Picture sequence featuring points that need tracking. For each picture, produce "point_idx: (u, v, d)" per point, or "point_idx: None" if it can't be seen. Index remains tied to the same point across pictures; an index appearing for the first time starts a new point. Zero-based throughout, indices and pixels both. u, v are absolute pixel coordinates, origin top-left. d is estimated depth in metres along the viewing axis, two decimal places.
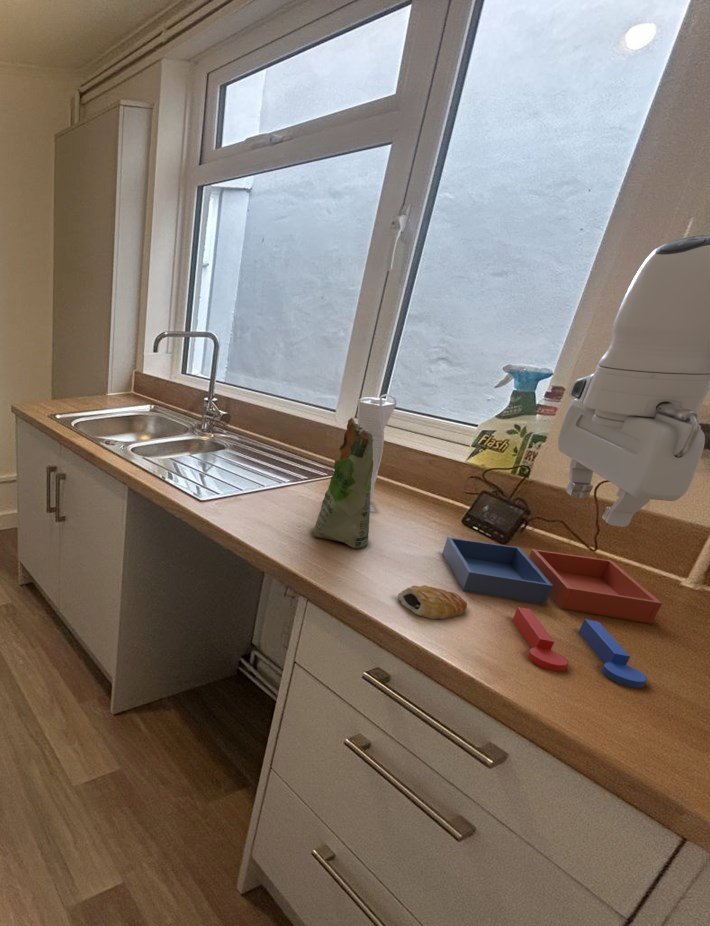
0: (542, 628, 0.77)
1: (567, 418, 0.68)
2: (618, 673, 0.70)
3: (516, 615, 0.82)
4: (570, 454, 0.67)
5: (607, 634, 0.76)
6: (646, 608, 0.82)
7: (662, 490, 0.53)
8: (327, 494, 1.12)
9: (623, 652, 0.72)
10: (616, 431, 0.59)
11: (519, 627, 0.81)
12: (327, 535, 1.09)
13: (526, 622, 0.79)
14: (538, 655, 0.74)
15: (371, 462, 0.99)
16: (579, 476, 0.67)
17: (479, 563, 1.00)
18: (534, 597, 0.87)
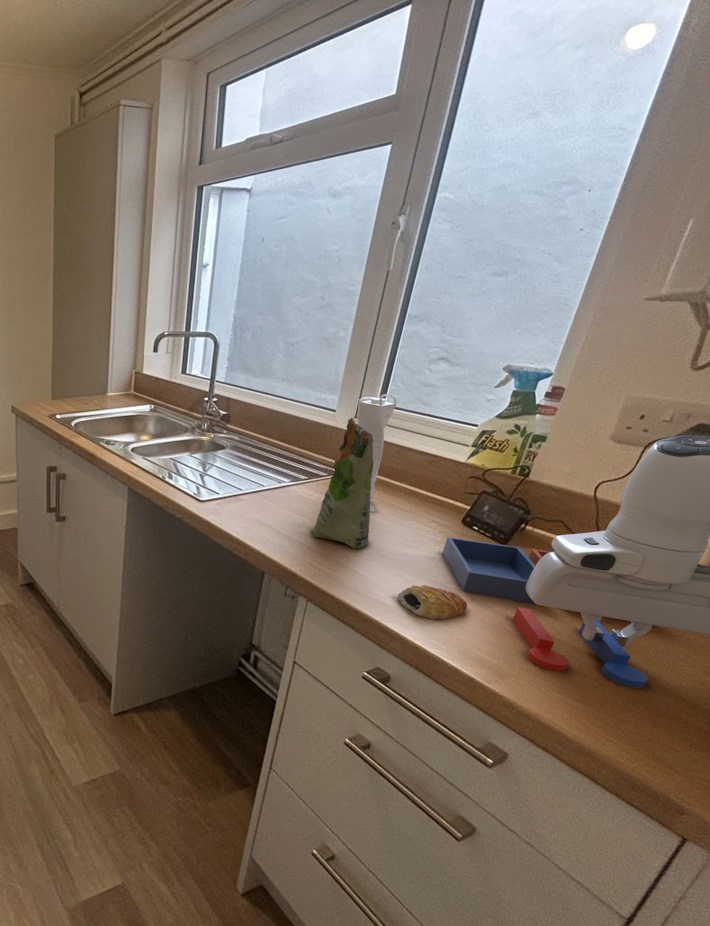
0: (542, 628, 0.77)
1: (556, 581, 0.74)
2: (618, 673, 0.70)
3: (516, 615, 0.82)
4: (572, 608, 0.74)
5: (607, 634, 0.76)
6: None
7: None
8: (327, 494, 1.12)
9: (623, 652, 0.72)
10: (653, 589, 0.70)
11: (519, 627, 0.81)
12: (327, 535, 1.09)
13: (526, 622, 0.79)
14: (538, 655, 0.74)
15: (371, 462, 0.99)
16: None
17: (479, 563, 1.00)
18: None
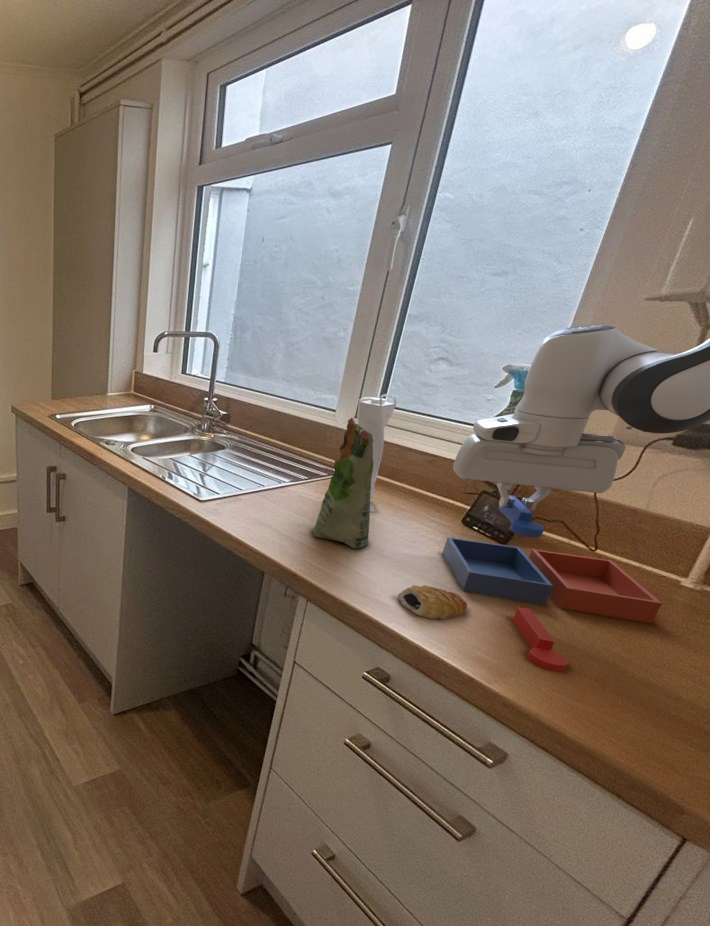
0: (542, 628, 0.77)
1: (474, 455, 0.89)
2: (522, 525, 0.85)
3: (516, 615, 0.82)
4: (488, 478, 0.90)
5: (519, 502, 0.91)
6: (646, 608, 0.82)
7: None
8: (327, 494, 1.12)
9: (528, 511, 0.87)
10: (550, 456, 0.85)
11: (519, 627, 0.81)
12: (327, 535, 1.09)
13: (526, 622, 0.79)
14: (538, 655, 0.74)
15: (371, 462, 0.99)
16: None
17: (479, 563, 1.00)
18: (534, 597, 0.87)
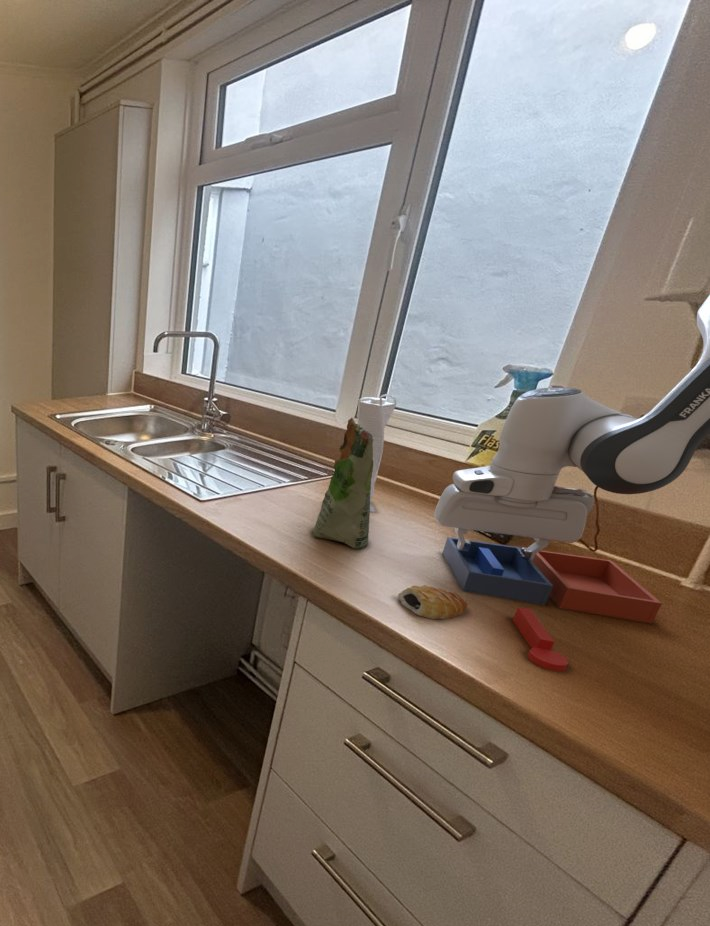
0: (542, 628, 0.77)
1: (453, 504, 0.94)
2: None
3: (516, 615, 0.82)
4: (467, 527, 0.94)
5: (492, 556, 0.97)
6: (646, 608, 0.82)
7: None
8: (327, 494, 1.12)
9: (500, 567, 0.93)
10: (524, 508, 0.90)
11: (519, 627, 0.81)
12: (327, 535, 1.09)
13: (526, 622, 0.79)
14: (538, 655, 0.74)
15: (371, 462, 0.99)
16: None
17: None
18: (534, 597, 0.87)
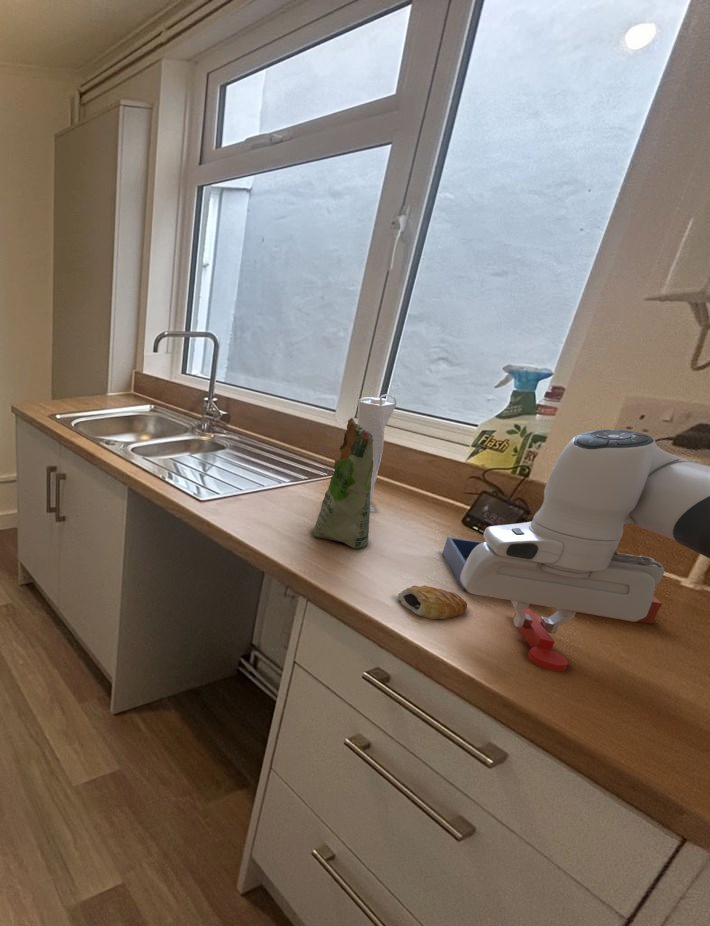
0: (542, 628, 0.77)
1: (486, 570, 0.77)
2: None
3: None
4: (501, 596, 0.77)
5: None
6: None
7: None
8: (327, 494, 1.12)
9: None
10: (575, 577, 0.73)
11: None
12: (327, 535, 1.09)
13: None
14: (538, 655, 0.74)
15: (371, 462, 0.99)
16: None
17: None
18: None
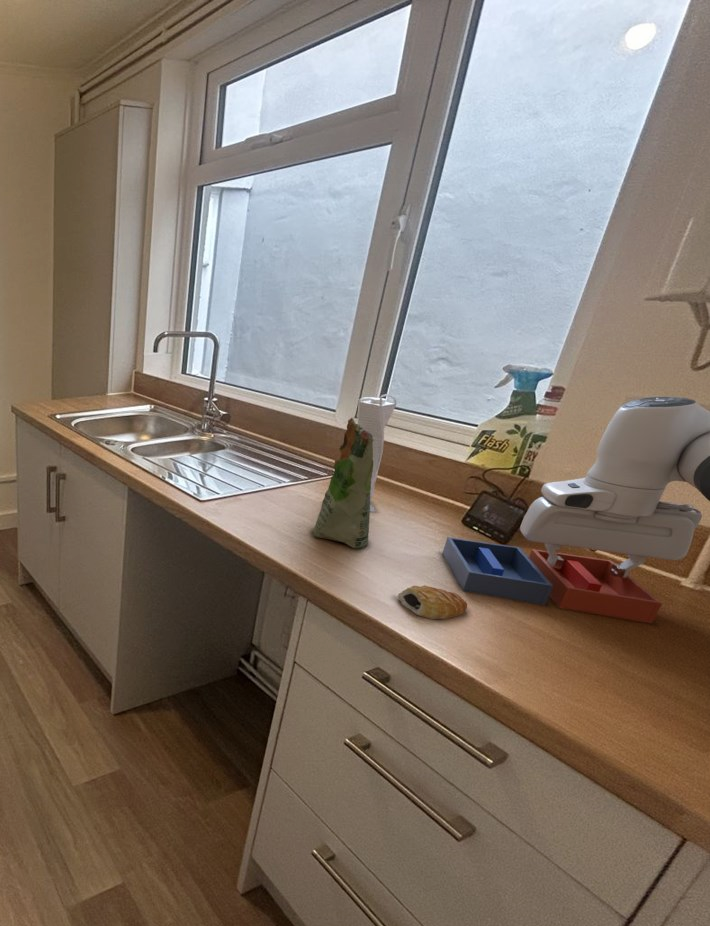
0: (590, 575, 0.90)
1: (545, 519, 0.89)
2: None
3: (565, 566, 0.95)
4: (558, 542, 0.90)
5: (492, 556, 0.97)
6: (646, 608, 0.82)
7: None
8: (327, 494, 1.12)
9: (500, 567, 0.93)
10: (624, 523, 0.85)
11: (569, 576, 0.94)
12: (327, 535, 1.09)
13: (575, 571, 0.92)
14: None
15: (371, 462, 0.99)
16: None
17: None
18: (534, 597, 0.87)
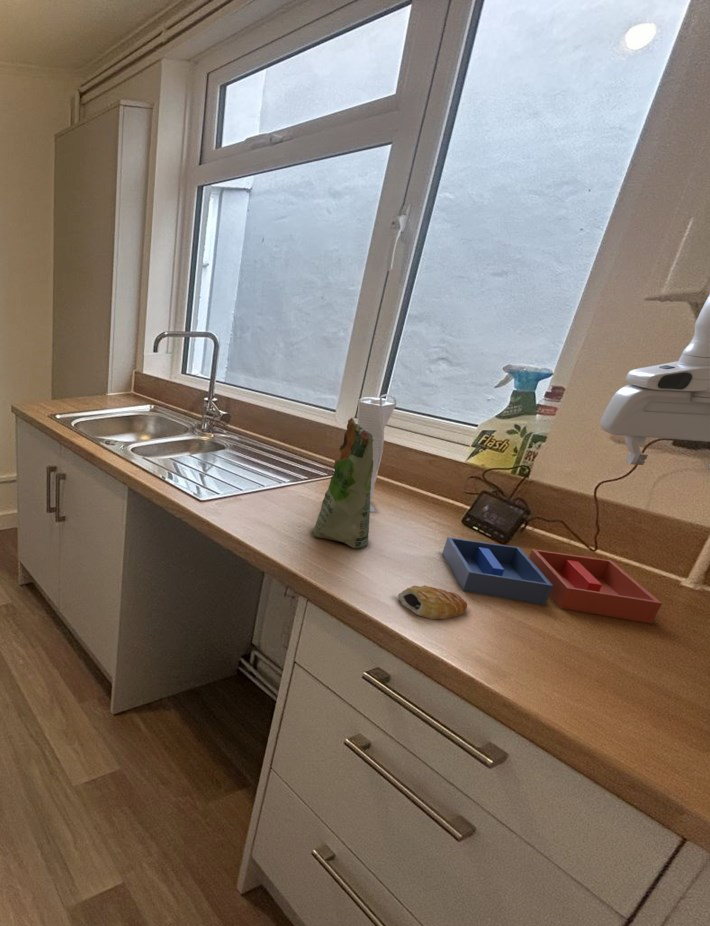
0: (590, 575, 0.90)
1: (633, 407, 0.80)
2: None
3: (565, 566, 0.95)
4: (647, 434, 0.80)
5: (492, 556, 0.97)
6: (646, 608, 0.82)
7: None
8: (327, 494, 1.12)
9: (500, 567, 0.93)
10: None
11: (569, 576, 0.94)
12: (327, 535, 1.09)
13: (575, 571, 0.92)
14: None
15: (371, 462, 0.99)
16: None
17: None
18: (534, 597, 0.87)
